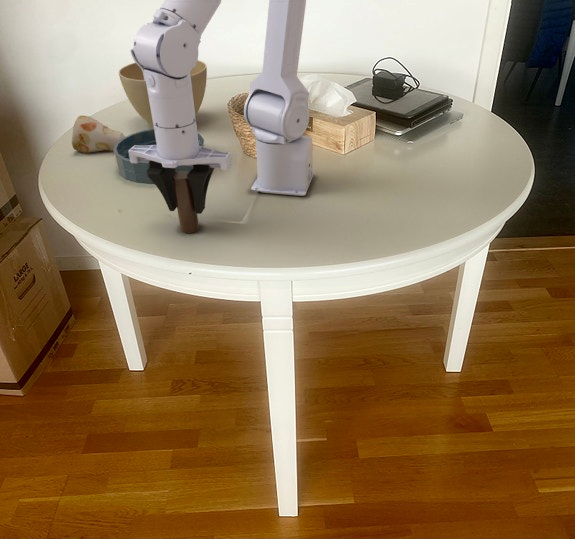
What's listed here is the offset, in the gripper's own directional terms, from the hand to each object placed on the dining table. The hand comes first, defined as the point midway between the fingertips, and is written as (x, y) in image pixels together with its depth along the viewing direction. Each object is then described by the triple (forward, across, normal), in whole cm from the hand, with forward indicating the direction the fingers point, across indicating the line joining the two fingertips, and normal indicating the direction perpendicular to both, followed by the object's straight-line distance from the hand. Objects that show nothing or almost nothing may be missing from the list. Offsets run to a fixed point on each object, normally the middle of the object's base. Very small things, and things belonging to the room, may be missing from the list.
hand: (187, 209), depth 79 cm
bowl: (+3, -13, +20) cm, 24 cm away
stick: (+3, 0, 0) cm, 3 cm away
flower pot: (+3, -20, +41) cm, 46 cm away
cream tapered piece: (+3, -28, +25) cm, 38 cm away
